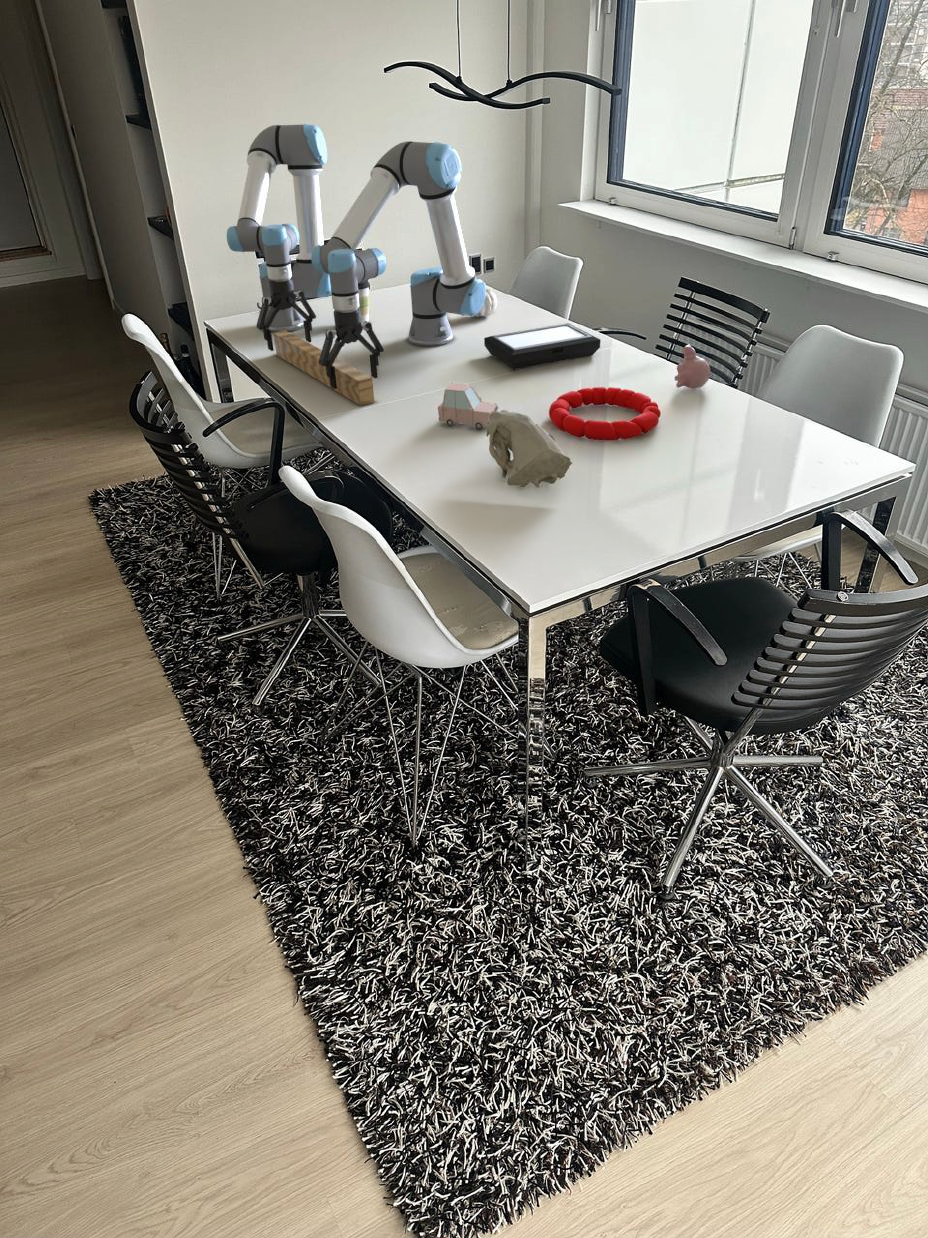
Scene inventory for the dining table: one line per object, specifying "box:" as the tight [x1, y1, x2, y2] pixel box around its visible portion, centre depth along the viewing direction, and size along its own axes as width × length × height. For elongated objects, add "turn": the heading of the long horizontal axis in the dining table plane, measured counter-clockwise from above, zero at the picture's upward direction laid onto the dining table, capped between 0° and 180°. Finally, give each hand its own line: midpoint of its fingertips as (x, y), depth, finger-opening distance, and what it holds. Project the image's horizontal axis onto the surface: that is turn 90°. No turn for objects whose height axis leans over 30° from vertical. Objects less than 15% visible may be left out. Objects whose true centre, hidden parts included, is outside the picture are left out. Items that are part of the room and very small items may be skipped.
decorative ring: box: [548, 386, 661, 442], centre depth 242 cm, size 7×30×30 cm
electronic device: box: [483, 322, 601, 371], centre depth 289 cm, size 32×6×20 cm
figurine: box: [674, 344, 711, 390], centre depth 259 cm, size 9×11×12 cm
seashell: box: [473, 288, 498, 318], centre depth 327 cm, size 10×15×10 cm
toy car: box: [437, 382, 499, 431], centre depth 243 cm, size 9×15×10 cm, turn 70°
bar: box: [272, 330, 375, 407], centre depth 278 cm, size 59×4×7 cm, turn 34°
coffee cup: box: [358, 279, 371, 324], centre depth 323 cm, size 10×10×15 cm
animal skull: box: [485, 409, 573, 489], centre depth 216 cm, size 17×25×20 cm
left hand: (290, 345), depth 293 cm, fingers open, 13 cm apart
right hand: (354, 382), depth 263 cm, fingers open, 13 cm apart
